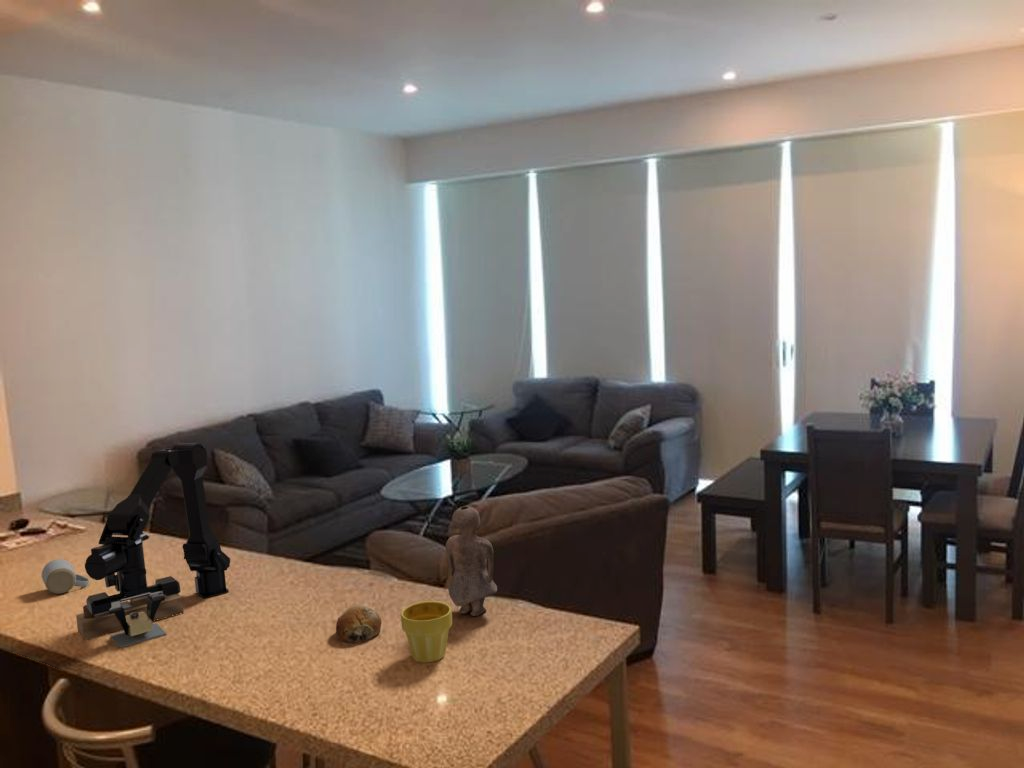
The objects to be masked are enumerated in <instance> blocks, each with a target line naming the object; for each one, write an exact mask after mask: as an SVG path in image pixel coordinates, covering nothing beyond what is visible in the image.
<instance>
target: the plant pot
mask: <svg viewBox="0 0 1024 768" xmlns="http://www.w3.org/2000/svg"><path fill="white" fill-rule="evenodd" d="M400 621H401V624H400V625H401V629H402V631H403V632H404V633H405V634H406V637H407V642H408V645H409V648H410V651H411V654H412V655H411V656H412V659H414V661H417V662H419V663H425V664H427V663H434V662H437V661H439V660H441V659H442V658H444V657H445V655H446V652H447V644H448V638H449V632H450V628H451V627H452V625H453V609H452V607H451V606H450V604H447V602H443V601H436V600H435V601H434V600H431V601H430V600H429V601H420V602H415V603H413V604H410V605H407V606H406V607H404V608H403V609H402V610H401V612H400Z"/></svg>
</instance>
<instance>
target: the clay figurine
mask: <svg viewBox="0 0 1024 768" xmlns="http://www.w3.org/2000/svg"><path fill="white" fill-rule="evenodd" d="M451 521H452V522H451V523H452V524H453V525H454V526H456V527H457V528H458V529H459V531H460V534H457V535H456V534H455V535H452V536H450V537H449V538H448V539H447V541H446V542H445V553H446V556H447V563H448V568H449V573H450V575H451V576H452V578H451V580H450V583H449V586H448V595H449V597H450V599H451V601H452V602H453V604H454V606H455V607H460V609H459V610H458V612H459V613H460V614H462V615H463V614H468V613H469V612H470V611H471V612H470V616H474V617H477V616H480V615H482V614H483V613H486V612H487V609H486V607H485V606H484V603H485V598H487V597H490V596H492V595H495V594H497V592H498V586H497V584H496V583H495V582H494V580H493V576H494V575H493V574H494V557H495V556H494V553H495V552H494V548H493V545H492V543H491V542H490V541H489V540H488V539H486V538H484V537H480V536H478V535H477V533H478V532H479V530H480V526H481V519H480V514H479V512H478V510H477V509H476V508H474V507H472V506H468V505H464V506H461V507H459V508H457V509H456V510H455V511H454V512H453V514H452V516H451Z"/></svg>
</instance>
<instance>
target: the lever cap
mask: <svg viewBox="0 0 1024 768" xmlns="http://www.w3.org/2000/svg"><path fill="white" fill-rule="evenodd" d="M125 617H126V622H127V627H128V634H129V635H130V636H134V635H138V634H142V633H145V632H149V631H153V629H152V624H153V623H152V620H151V619H150V618H149V617H148V616H147V615H146V614H145V612H144V611H142V612H132V613H130V615H126V616H125Z"/></svg>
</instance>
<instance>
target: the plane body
mask: <svg viewBox="0 0 1024 768" xmlns="http://www.w3.org/2000/svg"><path fill="white" fill-rule="evenodd" d="M163 596H164V597H165V600H164V601H161V603H160V605H159V607H158V609H157V611H156V614H155V617H154V620H156V621H158V620H157V619H160V620H163V619H162V618H164V619H166V618H165V617H167V618H169V617H168V616H171V617H173V616H172V615H175V616H177V615H176V614H179V615H181V614H180V613H182V614H184V606H183V597H182V596H181V595H180V593H178V594H174V595H170V596H166V595H165V594H163ZM121 606H122V607H123V608H124V612H125V616H126V615H130V613H132V612H142V611H144V612H145V614H146V615H147V602H146V596H143V597H139V598H135V599H131V600H127V601H123V602H121ZM82 609H83V610H82V613H78V614H76V615H75V617H76V624H77V625H76V626H77V632H78V633H80V634H79V635H80V637H81V638H82V639H83V640H89V639H93V638H97V637H100V636H103V635H102V634H104V635H107V634H106V633H108V634H111V633H114V631H115V632H118V631H117V630H119V631H122V629H123V628H122V627H121V625H120V623H119V621H118V619H117V617H116V616H115V614H109V612H108V611H107V612H103V613H99V614H91V612H90V611H89V610H88V608H87V604H86V605H85V604H84V605H83V606H82ZM154 620H153V622H155V621H154ZM110 632H111V633H110ZM99 635H100V636H99ZM96 636H97V637H96Z"/></svg>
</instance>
